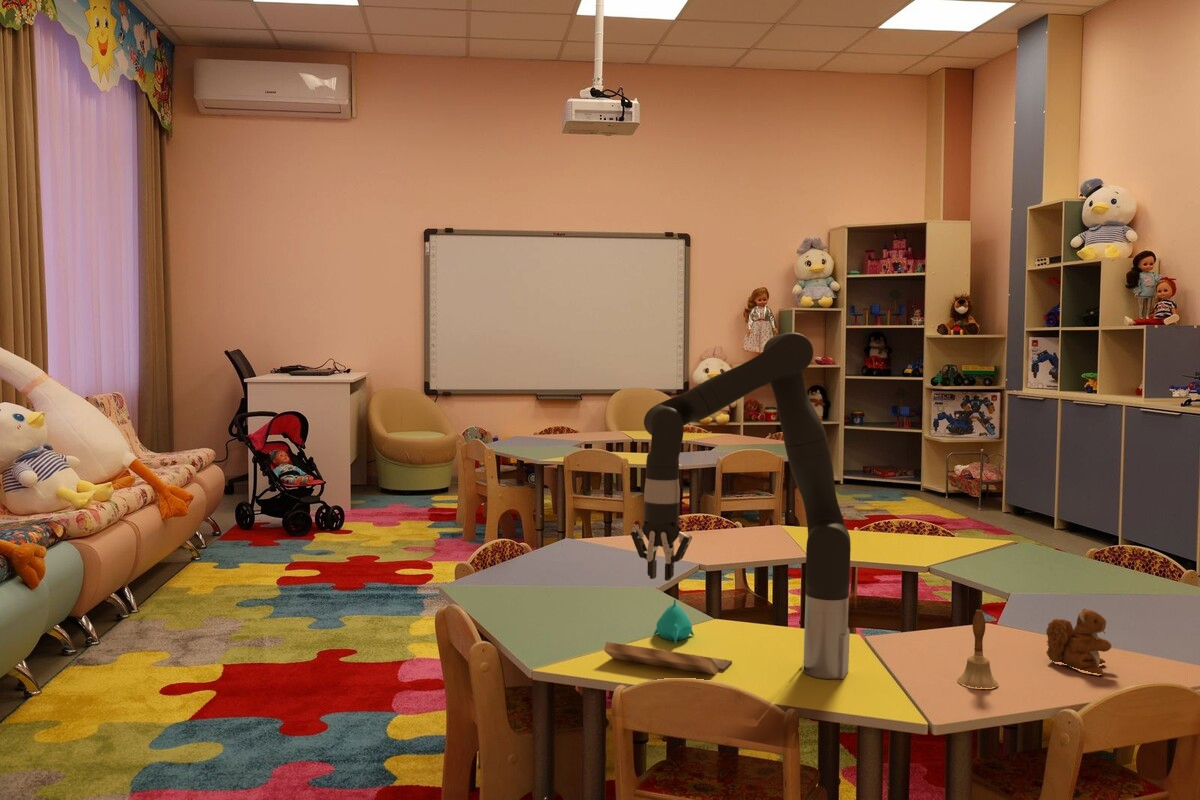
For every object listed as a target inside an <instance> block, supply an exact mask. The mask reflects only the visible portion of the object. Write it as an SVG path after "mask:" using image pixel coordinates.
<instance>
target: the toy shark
mask: <svg viewBox="0 0 1200 800" xmlns="http://www.w3.org/2000/svg"><path fill="white" fill-rule="evenodd" d="M676 601H677V600H676V598H674V600H673V604H671V605H669V607H667V608H666V609H665V611H664V612H663V613H662V615H661V616H660V617H659V619H658V621H656V622H657V623H656V628H655V630H654V633H653V636H655V635H656V634H659V635H660V637H662V638H663V639H664V640H668V641H669V640H670V641H674V643H675V644H677V641H682V640H685V639H686V638H688V637H689V636H690V635H692V636H693V637H695V634H694V631H693V625H692V623H691V621H690V618H689V617H688V615H687V614H686V612H685V611H684V610H683V609H682V607H680V605H678V604H677V603H676Z"/></svg>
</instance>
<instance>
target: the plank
mask: <svg viewBox="0 0 1200 800" xmlns="http://www.w3.org/2000/svg"><path fill="white" fill-rule="evenodd" d="M629 645H630V644H625V645H623V643H622V644H621V643H616V642H615V643H613V642H609V641H606V642H605V646H604V649H603V652H604V653H606V654H607V655H608V656H610V657H611V658H612V659H615V660H621V661H626V662H627V661H628V662H634V663H640V664H645V665H646V664H647V665H652V666H658V667H663V668H664V667H665V668H671V669H677V670H684V671H690V672H697V673H701V674H702V673H703V674H709V675H715V676H716V675H717V674H718V673H719V671H718V669H719V667H718V666H717V664H716V663H715V662H714V661H713V660H712V659H711V658H712V657H710V658H708V656H704V657H701V656H702V655H697V656H695V655H696V654H691V655H688V654H689V653H684V654H681V653H682V652H678V653H675V652H676V651H671V652H668V651H669V650H664V651H662V650H663V649H658V650H655V649H656V648H651V649H649V648H650V647H645V648H642V647H643V646H638V647H636V646H637V645H632V646H629Z"/></svg>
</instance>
